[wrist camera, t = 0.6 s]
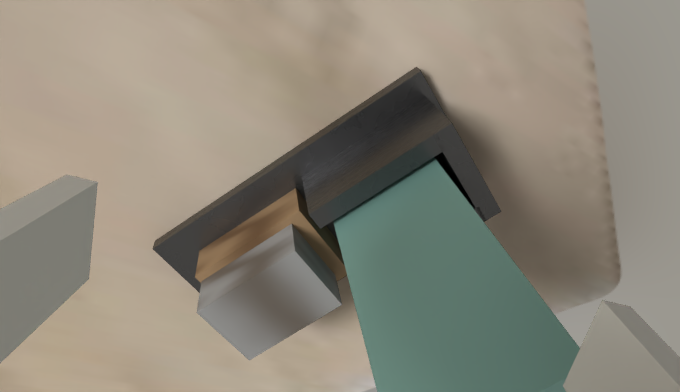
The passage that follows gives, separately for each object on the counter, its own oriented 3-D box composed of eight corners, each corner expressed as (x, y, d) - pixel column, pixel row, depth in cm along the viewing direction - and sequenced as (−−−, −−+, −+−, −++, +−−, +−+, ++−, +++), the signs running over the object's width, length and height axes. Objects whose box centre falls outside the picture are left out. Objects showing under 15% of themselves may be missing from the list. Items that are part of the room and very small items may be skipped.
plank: (352, 225, 36) (444, 513, 18) (324, 189, 34) (397, 467, 17) (438, 171, 35) (623, 421, 17) (414, 131, 33) (591, 364, 16)
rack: (245, 326, 40) (243, 387, 35) (155, 240, 35) (137, 296, 30) (480, 181, 37) (518, 224, 32) (416, 67, 32) (447, 95, 27)
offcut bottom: (253, 304, 38) (253, 332, 35) (199, 250, 35) (195, 277, 32) (343, 248, 37) (350, 273, 34) (295, 188, 34) (298, 210, 31)
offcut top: (249, 327, 35) (249, 360, 32) (201, 281, 33) (196, 312, 30) (335, 275, 34) (341, 304, 31) (291, 223, 32) (294, 250, 29)
